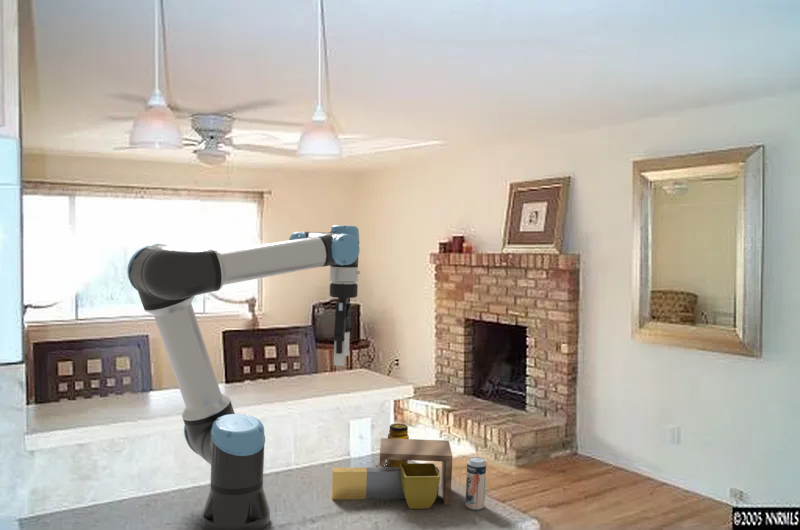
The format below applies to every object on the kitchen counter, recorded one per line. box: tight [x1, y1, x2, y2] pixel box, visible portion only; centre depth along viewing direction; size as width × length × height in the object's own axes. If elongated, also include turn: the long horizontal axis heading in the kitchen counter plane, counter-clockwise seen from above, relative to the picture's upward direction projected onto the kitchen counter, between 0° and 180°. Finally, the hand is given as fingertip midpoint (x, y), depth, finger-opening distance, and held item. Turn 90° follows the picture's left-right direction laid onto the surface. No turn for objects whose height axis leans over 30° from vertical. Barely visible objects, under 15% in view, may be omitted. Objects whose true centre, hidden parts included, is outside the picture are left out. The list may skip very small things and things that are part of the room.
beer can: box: [464, 456, 487, 511], centre depth 165 cm, size 5×5×12 cm
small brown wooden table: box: [378, 437, 453, 506], centre depth 171 cm, size 18×12×12 cm, turn 91°
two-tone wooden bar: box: [331, 466, 440, 500], centre depth 170 cm, size 27×3×7 cm, turn 97°
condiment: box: [374, 422, 410, 467], centre depth 191 cm, size 7×8×12 cm
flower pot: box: [400, 462, 441, 510], centre depth 165 cm, size 9×9×9 cm
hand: (341, 360), depth 181 cm, fingers open, 13 cm apart
